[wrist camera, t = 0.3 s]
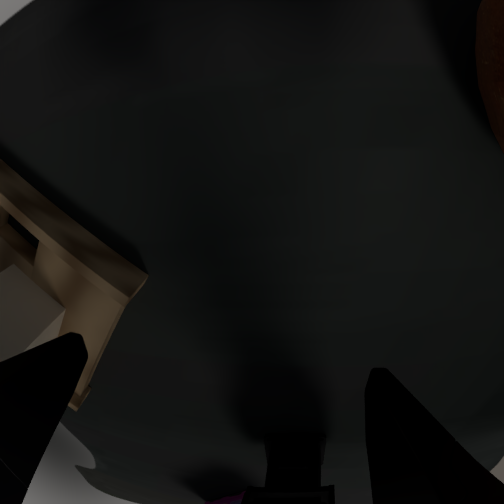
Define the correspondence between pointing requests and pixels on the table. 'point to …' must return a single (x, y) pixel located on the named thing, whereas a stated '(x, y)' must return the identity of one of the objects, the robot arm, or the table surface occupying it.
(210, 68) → the table surface
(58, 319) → the cream block
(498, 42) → the jug
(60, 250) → the wooden tray
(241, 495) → the candy bar box
